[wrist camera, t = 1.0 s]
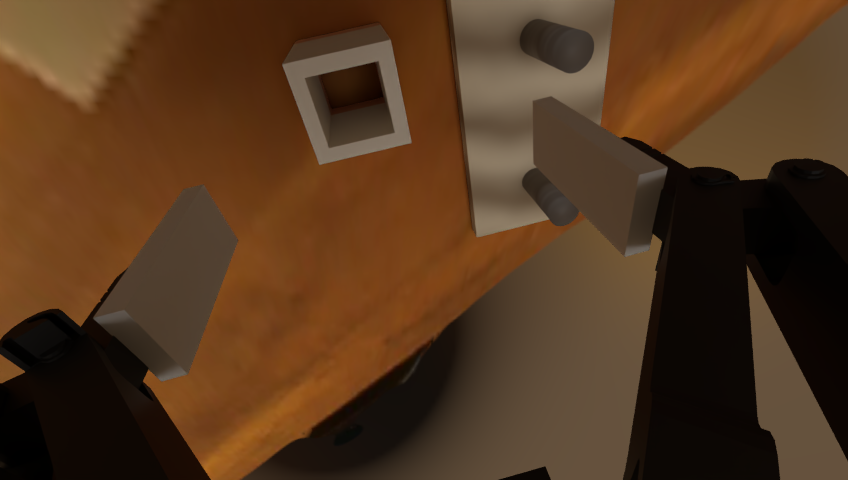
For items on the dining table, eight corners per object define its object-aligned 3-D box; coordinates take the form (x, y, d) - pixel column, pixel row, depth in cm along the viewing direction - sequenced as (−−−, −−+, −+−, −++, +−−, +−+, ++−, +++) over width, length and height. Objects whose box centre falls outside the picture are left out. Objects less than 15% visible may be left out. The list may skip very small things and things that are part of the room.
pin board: (442, -27, 26) (473, -25, 20) (609, -64, 26) (688, -73, 20) (472, 229, 39) (496, 276, 33) (583, 201, 40) (626, 243, 34)
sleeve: (296, 40, 27) (281, 64, 20) (378, 22, 27) (390, 39, 21) (324, 122, 30) (319, 164, 24) (396, 105, 31) (411, 142, 24)
